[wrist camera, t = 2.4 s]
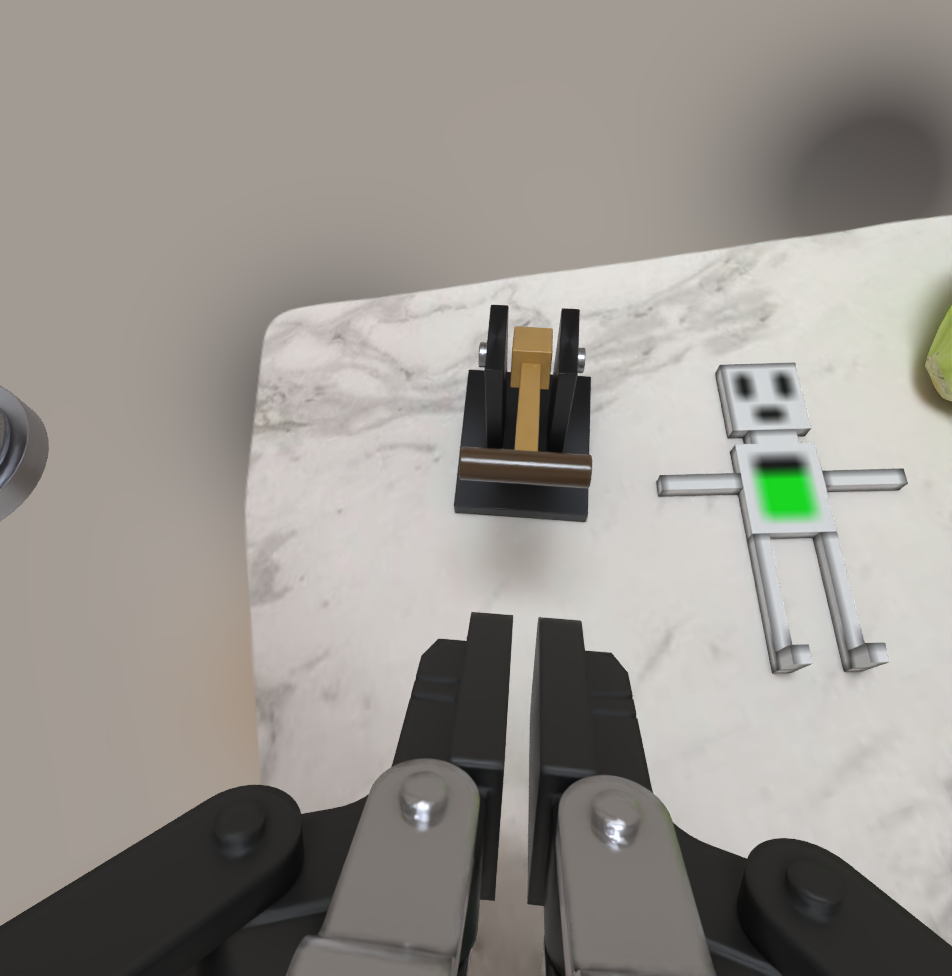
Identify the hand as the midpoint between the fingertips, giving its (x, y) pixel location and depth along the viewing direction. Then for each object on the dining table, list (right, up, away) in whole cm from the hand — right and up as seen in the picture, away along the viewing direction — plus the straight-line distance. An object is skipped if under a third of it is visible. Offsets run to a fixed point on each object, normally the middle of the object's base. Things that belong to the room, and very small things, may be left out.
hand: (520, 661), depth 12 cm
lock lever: (+2, +6, +25) cm, 26 cm away
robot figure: (+20, +2, +35) cm, 41 cm away
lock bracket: (+3, +6, +38) cm, 38 cm away
